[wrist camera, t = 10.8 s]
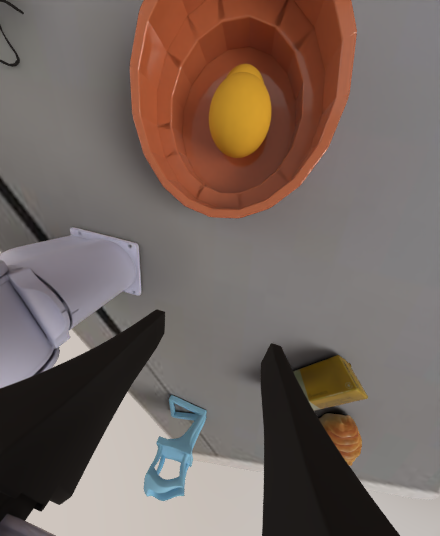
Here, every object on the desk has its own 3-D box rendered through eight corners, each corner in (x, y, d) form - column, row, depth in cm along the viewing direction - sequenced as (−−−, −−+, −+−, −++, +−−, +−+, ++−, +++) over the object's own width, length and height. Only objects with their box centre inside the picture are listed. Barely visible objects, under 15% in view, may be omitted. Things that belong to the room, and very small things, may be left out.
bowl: (165, 199, 16) (136, 200, 12) (169, 6, 11) (118, -109, 7) (282, 225, 15) (293, 235, 11) (355, 23, 10) (430, -104, 6)
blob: (205, 156, 13) (203, 143, 9) (215, 73, 11) (217, 14, 7) (252, 167, 14) (268, 158, 10) (270, 90, 12) (299, 44, 8)
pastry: (314, 401, 26) (321, 429, 23) (363, 411, 24) (378, 442, 21) (310, 434, 29) (315, 461, 26) (353, 445, 27) (364, 476, 24)
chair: (206, 421, 36) (186, 516, 25) (173, 411, 37) (140, 498, 27) (207, 404, 33) (184, 505, 22) (170, 394, 34) (132, 485, 23)
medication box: (276, 387, 26) (281, 419, 23) (265, 380, 25) (269, 411, 22) (350, 363, 21) (371, 400, 17) (338, 353, 20) (358, 389, 16)
